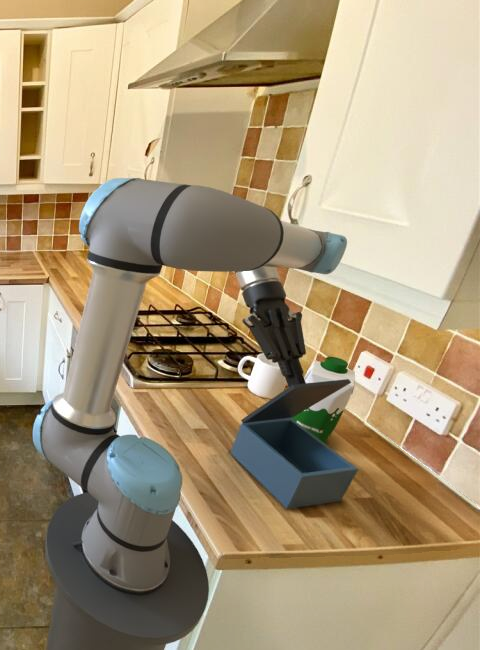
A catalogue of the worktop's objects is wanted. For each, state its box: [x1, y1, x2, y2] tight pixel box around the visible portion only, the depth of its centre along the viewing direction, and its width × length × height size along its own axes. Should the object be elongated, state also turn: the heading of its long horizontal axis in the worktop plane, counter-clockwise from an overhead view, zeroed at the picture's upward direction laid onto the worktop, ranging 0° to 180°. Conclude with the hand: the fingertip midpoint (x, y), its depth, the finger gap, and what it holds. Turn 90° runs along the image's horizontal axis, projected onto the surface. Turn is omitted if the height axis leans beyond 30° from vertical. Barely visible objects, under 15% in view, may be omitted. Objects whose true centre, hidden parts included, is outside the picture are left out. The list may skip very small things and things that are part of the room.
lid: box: [240, 379, 351, 423], centre depth 86 cm, size 17×13×1 cm
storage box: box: [230, 418, 359, 510], centre depth 88 cm, size 16×13×9 cm
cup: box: [237, 352, 287, 400], centre depth 117 cm, size 8×12×10 cm
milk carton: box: [291, 356, 356, 444], centre depth 98 cm, size 9×9×20 cm
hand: (299, 391), depth 84 cm, fingers closed
